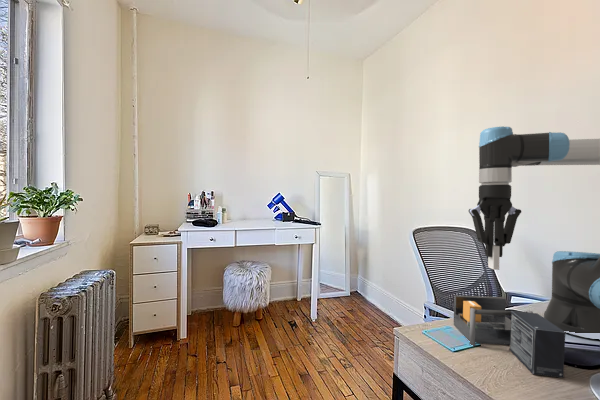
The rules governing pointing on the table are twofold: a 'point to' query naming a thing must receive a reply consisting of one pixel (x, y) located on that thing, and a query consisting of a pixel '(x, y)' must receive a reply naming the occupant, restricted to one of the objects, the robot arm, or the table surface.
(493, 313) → the gray open frame
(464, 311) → the orange cardboard carton
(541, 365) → the small box
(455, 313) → the dark gray open box
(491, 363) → the table surface
